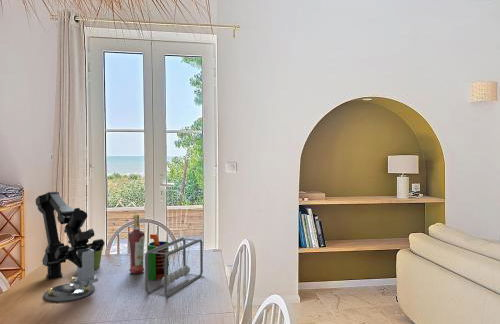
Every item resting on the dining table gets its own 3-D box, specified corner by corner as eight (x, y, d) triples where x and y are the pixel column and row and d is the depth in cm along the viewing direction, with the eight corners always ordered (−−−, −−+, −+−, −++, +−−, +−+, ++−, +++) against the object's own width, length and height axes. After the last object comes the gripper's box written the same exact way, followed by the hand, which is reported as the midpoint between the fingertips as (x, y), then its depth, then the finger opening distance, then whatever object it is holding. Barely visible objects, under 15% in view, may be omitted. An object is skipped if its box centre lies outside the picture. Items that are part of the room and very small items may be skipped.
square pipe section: (69, 281, 154) (69, 250, 153) (91, 276, 161) (91, 246, 160) (79, 287, 148) (79, 254, 147) (101, 281, 155) (101, 250, 154)
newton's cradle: (184, 272, 181) (183, 236, 181) (203, 275, 178) (203, 238, 177) (144, 295, 154) (144, 252, 153) (166, 298, 150) (166, 254, 149)
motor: (161, 281, 170) (161, 237, 169) (143, 279, 172) (143, 236, 171) (170, 274, 180) (170, 232, 179) (153, 272, 181) (153, 231, 181)
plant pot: (109, 266, 191) (109, 244, 191) (88, 272, 181) (88, 249, 181) (95, 262, 198) (94, 241, 197) (74, 268, 188) (73, 246, 187)
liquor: (138, 275, 177) (138, 216, 176) (125, 274, 179) (125, 215, 179) (147, 271, 184) (147, 214, 183) (135, 269, 186) (134, 213, 186)
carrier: (43, 289, 159) (43, 280, 159) (92, 282, 169) (91, 273, 169) (44, 305, 143) (44, 295, 143) (97, 296, 152) (97, 286, 152)
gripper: (57, 226, 149) (69, 260, 142) (102, 220, 163) (115, 250, 156) (49, 243, 155) (61, 275, 148) (94, 235, 168) (106, 265, 162)
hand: (87, 266), depth 153 cm, fingers closed on square pipe section, 5 cm apart
